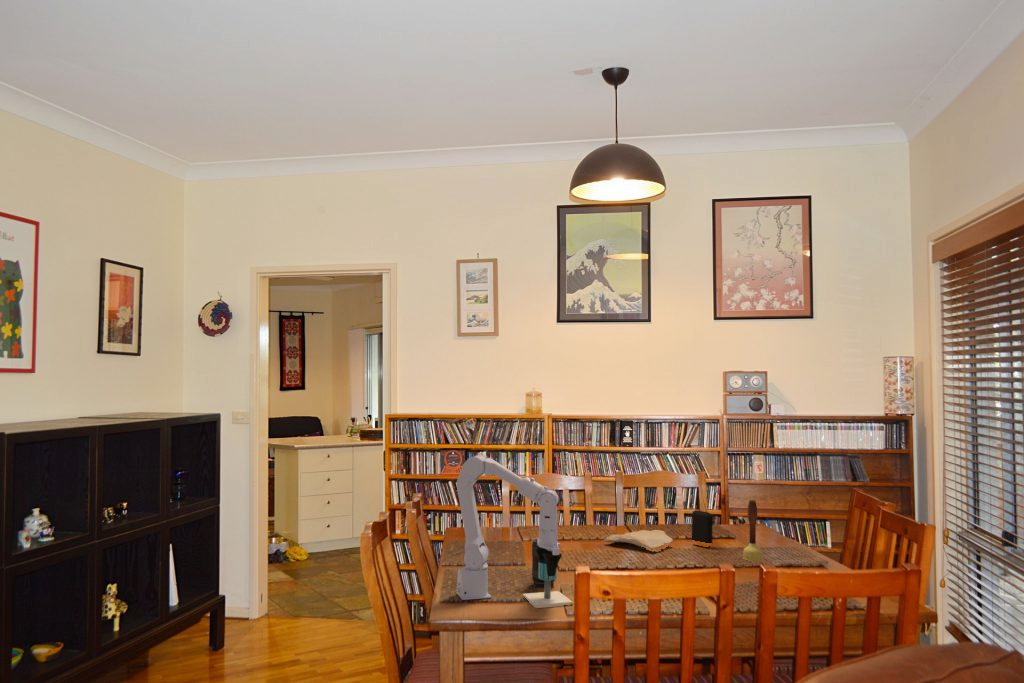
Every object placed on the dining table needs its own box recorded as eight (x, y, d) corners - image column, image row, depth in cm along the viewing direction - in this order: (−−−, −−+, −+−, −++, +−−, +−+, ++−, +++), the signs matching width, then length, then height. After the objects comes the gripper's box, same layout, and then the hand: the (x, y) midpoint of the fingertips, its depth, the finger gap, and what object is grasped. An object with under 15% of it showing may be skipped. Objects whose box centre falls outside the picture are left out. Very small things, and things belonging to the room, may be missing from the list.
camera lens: (554, 582, 253) (555, 537, 254) (556, 588, 245) (557, 542, 246) (530, 582, 253) (531, 537, 254) (532, 588, 245) (532, 542, 246)
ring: (542, 581, 228) (542, 564, 229) (536, 576, 234) (536, 560, 234) (559, 579, 230) (559, 563, 230) (552, 575, 235) (552, 559, 236)
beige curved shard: (628, 540, 326) (601, 543, 312) (629, 523, 327) (603, 525, 313) (677, 552, 310) (651, 555, 295) (678, 533, 311) (653, 536, 296)
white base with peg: (535, 608, 224) (535, 584, 224) (522, 596, 235) (523, 574, 236) (572, 605, 228) (572, 581, 228) (558, 594, 239) (558, 572, 239)
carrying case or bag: (715, 548, 308) (716, 512, 309) (711, 549, 306) (711, 513, 307) (694, 544, 316) (694, 509, 317) (690, 545, 314) (690, 510, 315)
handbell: (728, 565, 280) (728, 498, 282) (755, 563, 285) (755, 497, 286) (749, 573, 269) (749, 503, 270) (777, 571, 273) (777, 502, 274)
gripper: (568, 533, 227) (568, 578, 226) (551, 524, 241) (551, 567, 240) (547, 534, 225) (546, 580, 224) (531, 525, 239) (530, 568, 238)
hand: (547, 573), depth 232 cm, fingers closed on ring, 6 cm apart
